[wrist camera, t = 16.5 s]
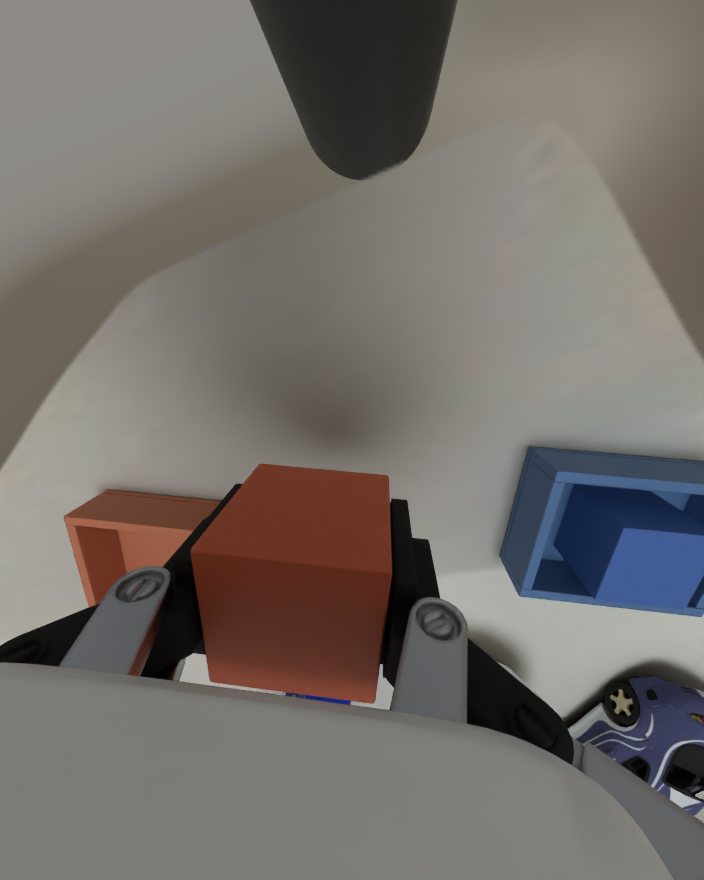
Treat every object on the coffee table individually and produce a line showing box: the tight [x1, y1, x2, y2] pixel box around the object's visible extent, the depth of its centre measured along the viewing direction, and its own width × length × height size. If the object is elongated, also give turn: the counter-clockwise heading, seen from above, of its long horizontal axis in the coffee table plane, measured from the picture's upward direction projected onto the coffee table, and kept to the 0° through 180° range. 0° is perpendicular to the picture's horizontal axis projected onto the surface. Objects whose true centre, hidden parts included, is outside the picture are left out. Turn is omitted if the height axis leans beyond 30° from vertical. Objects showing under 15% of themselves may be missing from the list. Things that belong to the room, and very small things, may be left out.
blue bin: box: [500, 447, 704, 617], centre depth 19 cm, size 8×10×4 cm
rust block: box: [190, 464, 392, 704], centre depth 10 cm, size 4×4×4 cm
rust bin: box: [64, 490, 221, 607], centre depth 23 cm, size 8×10×4 cm
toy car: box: [568, 677, 704, 816], centre depth 25 cm, size 8×18×5 cm, turn 152°
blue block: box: [554, 484, 704, 610], centre depth 18 cm, size 4×4×4 cm
